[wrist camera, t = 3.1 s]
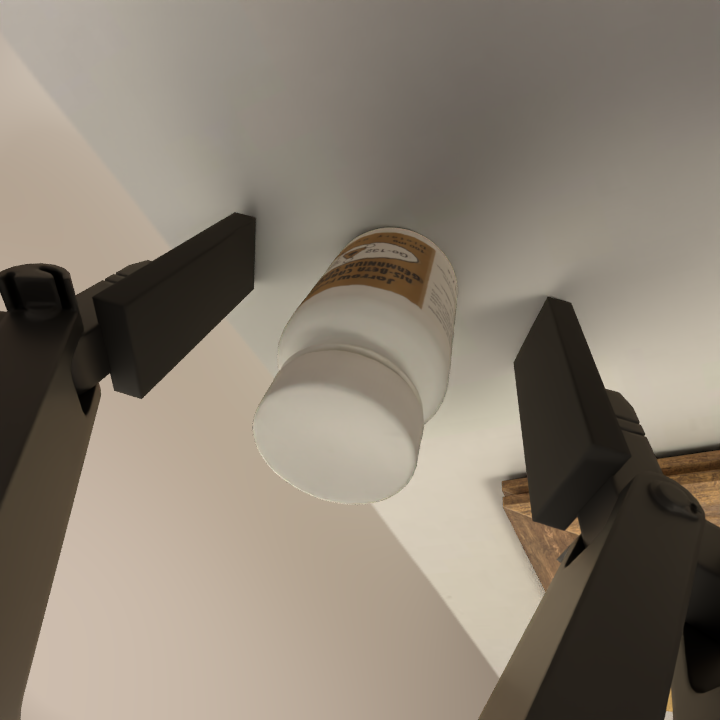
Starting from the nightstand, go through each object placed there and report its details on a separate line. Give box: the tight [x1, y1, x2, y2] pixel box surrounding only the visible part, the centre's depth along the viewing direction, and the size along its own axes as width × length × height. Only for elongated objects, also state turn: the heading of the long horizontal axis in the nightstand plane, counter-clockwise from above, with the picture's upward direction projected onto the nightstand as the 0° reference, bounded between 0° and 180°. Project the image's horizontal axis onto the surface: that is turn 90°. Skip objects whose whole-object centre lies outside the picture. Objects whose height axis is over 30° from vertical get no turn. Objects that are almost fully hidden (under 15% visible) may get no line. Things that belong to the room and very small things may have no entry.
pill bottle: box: [253, 227, 457, 505], centre depth 11 cm, size 4×4×8 cm
